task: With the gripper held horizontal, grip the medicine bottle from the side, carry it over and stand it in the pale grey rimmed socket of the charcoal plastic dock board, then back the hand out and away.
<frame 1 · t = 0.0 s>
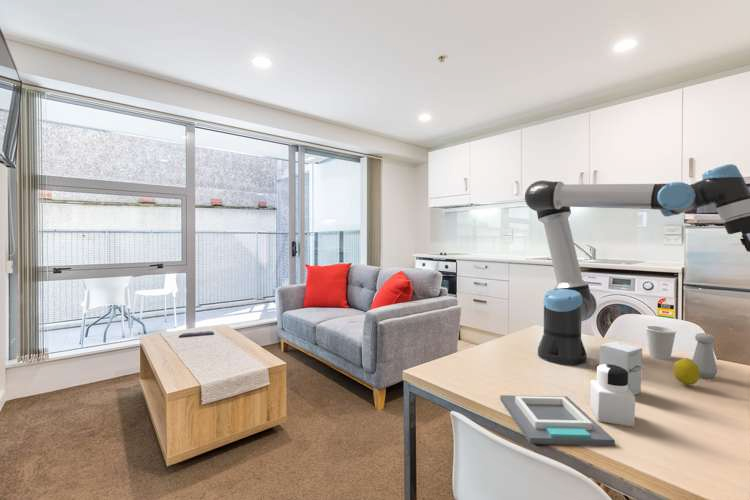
salt shaker: (703, 377, 104), on the table
dock: (550, 419, 80), on the table
medicine bottle: (611, 417, 81), on the table
supplement box: (619, 391, 95), on the table
dixie cup: (659, 357, 121), on the table
lemon: (685, 386, 98), on the table
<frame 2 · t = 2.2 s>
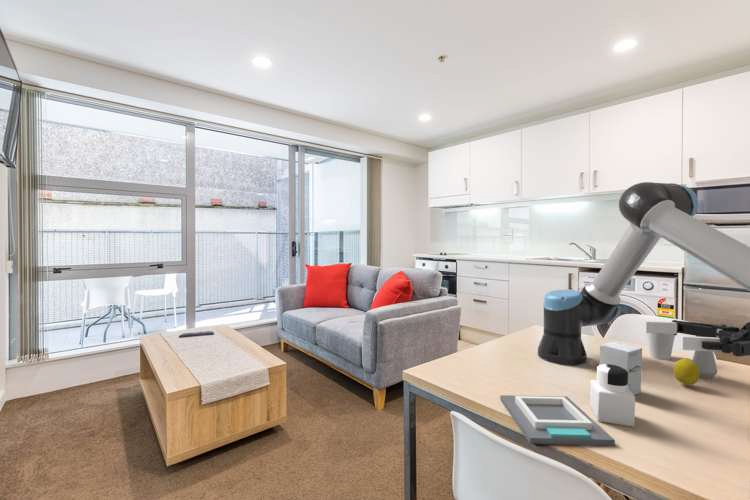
hand: (661, 334, 78), 20 cm above the table, tool horizontal, fingers open, 13 cm apart
nothing on the table moved.
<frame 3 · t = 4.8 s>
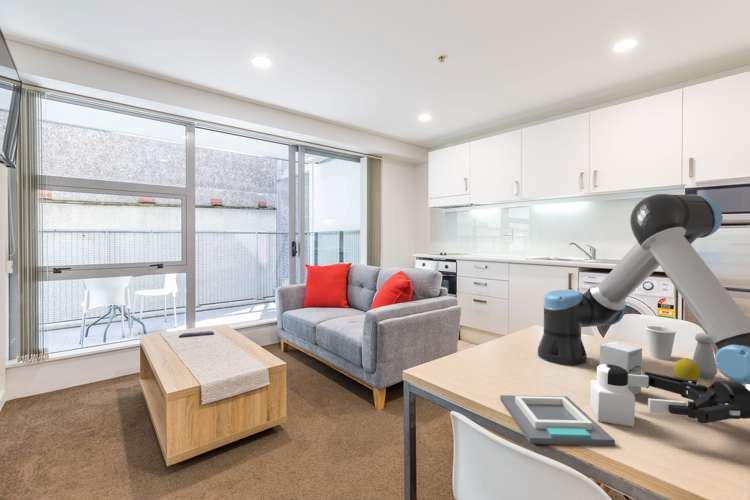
hand: (632, 391, 79), 7 cm above the table, tool horizontal, fingers open, 13 cm apart
nothing on the table moved.
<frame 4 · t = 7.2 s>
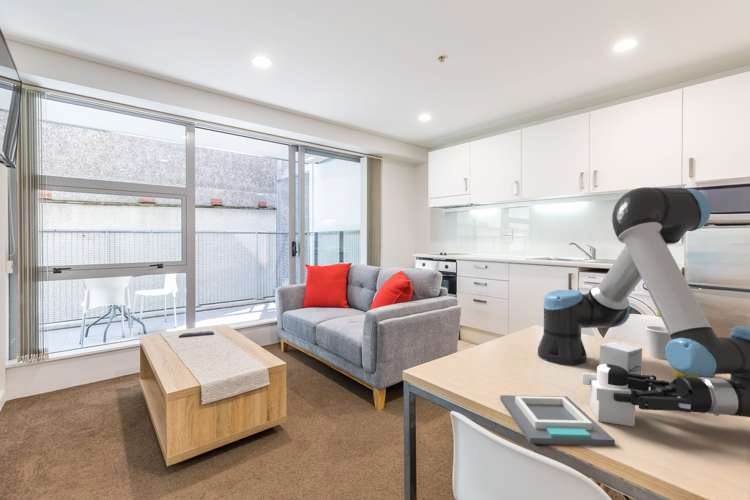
hand: (589, 385, 82), 7 cm above the table, tool horizontal, fingers closed on medicine bottle, 8 cm apart
medicine bottle: (611, 417, 81), on the table, touching gripper
everything else where it was.
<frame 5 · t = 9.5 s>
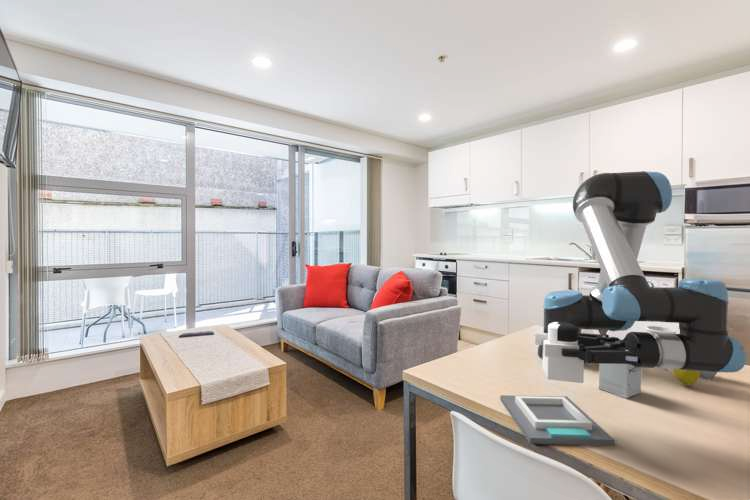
hand: (539, 344, 79), 18 cm above the table, tool horizontal, fingers closed on medicine bottle, 8 cm apart
medicine bottle: (561, 376, 79), point 11 cm above the table, touching gripper
everything else where it was.
when the fingers open (10 cm above the table, at t = 12.0 s): medicine bottle drops 1 cm, resting on dock.
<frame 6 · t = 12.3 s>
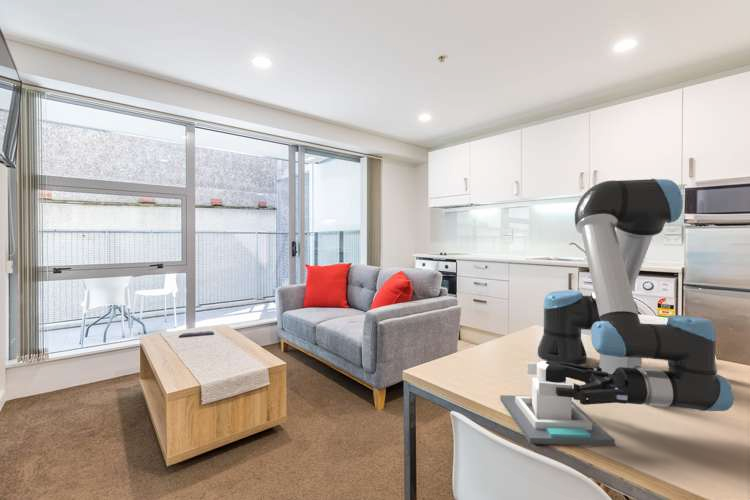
hand: (532, 377, 80), 10 cm above the table, tool horizontal, fingers open, 11 cm apart
medicine bottle: (550, 415, 80), point 1 cm above the table, touching dock
everything else where it was.
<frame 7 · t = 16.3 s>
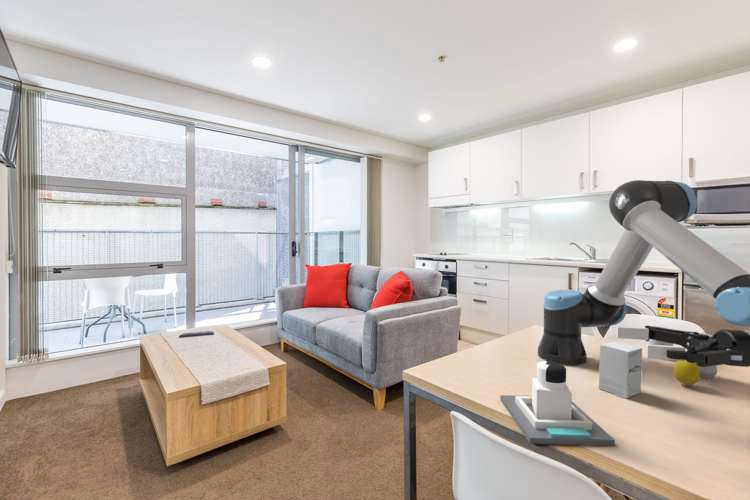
hand: (630, 340, 77), 19 cm above the table, tool horizontal, fingers open, 13 cm apart
nothing on the table moved.
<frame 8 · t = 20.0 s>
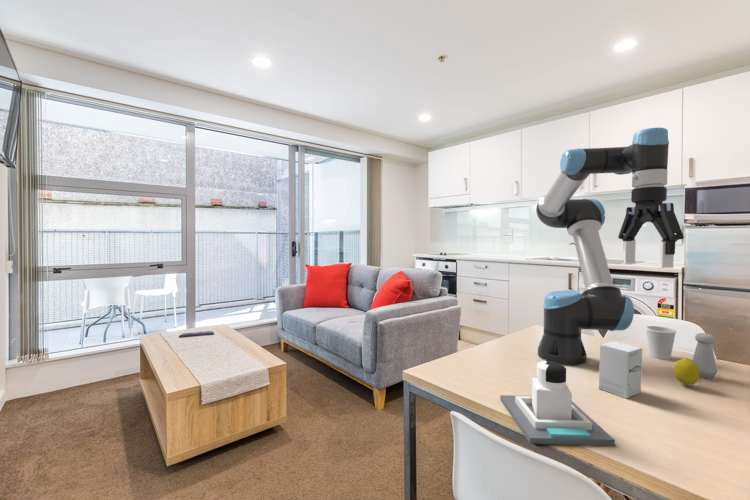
hand: (646, 265, 94), 35 cm above the table, tool pointing down, fingers open, 13 cm apart
nothing on the table moved.
at the end: medicine bottle 0.1 cm off-centre on the dock, point 1.0 cm above the dock's base; medicine bottle tilted 0°; the gripper is holding nothing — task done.
